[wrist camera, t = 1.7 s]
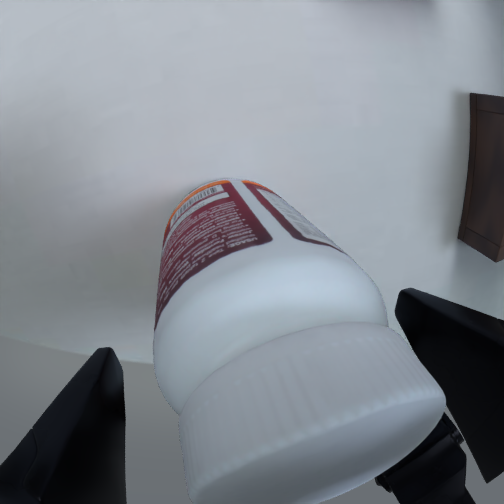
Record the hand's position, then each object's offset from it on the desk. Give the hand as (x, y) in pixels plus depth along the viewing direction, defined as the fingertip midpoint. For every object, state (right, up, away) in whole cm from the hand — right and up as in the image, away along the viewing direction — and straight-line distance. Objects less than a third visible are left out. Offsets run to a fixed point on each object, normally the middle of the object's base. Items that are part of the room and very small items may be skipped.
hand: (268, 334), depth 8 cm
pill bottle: (-2, +3, +6) cm, 7 cm away
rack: (+25, +10, +9) cm, 28 cm away
